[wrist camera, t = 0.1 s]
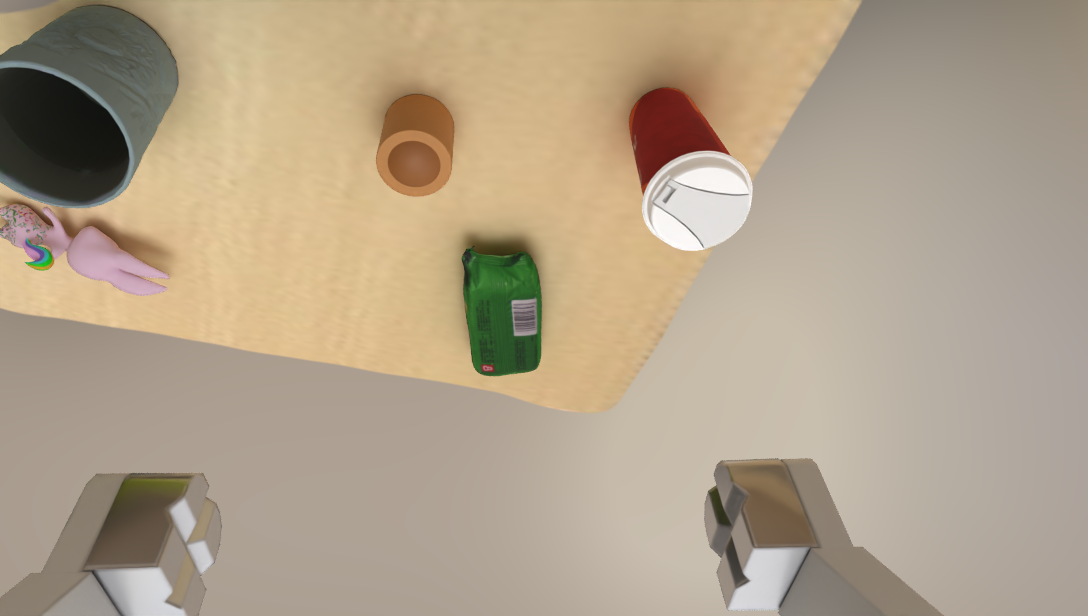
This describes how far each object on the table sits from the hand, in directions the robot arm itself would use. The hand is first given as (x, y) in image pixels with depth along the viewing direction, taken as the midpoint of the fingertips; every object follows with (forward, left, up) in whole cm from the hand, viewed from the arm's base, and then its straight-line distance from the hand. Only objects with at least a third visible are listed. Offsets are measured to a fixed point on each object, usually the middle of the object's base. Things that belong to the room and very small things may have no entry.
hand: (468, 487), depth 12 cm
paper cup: (+16, +15, -48) cm, 53 cm away
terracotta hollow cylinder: (+17, -5, -48) cm, 51 cm away
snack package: (+35, +2, -48) cm, 60 cm away
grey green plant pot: (+13, -27, -48) cm, 57 cm away
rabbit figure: (+28, -35, -48) cm, 66 cm away
